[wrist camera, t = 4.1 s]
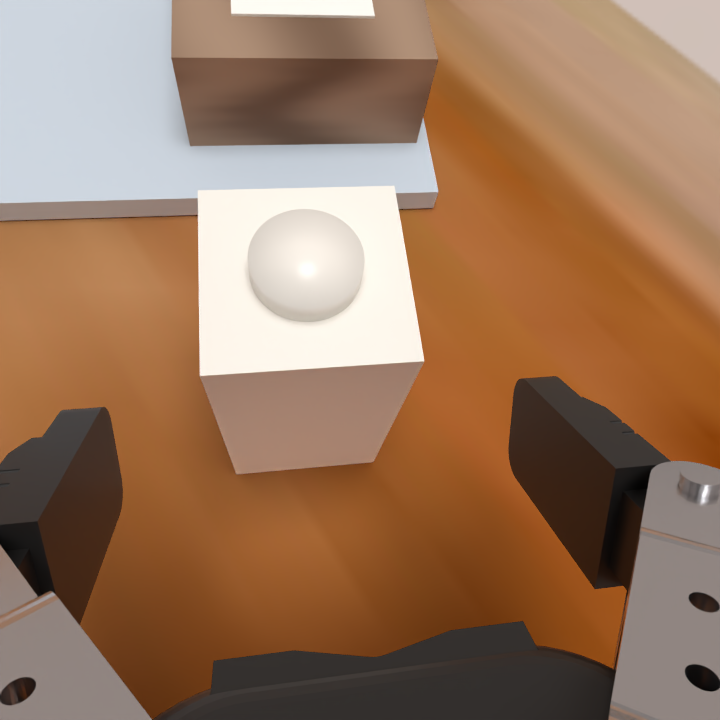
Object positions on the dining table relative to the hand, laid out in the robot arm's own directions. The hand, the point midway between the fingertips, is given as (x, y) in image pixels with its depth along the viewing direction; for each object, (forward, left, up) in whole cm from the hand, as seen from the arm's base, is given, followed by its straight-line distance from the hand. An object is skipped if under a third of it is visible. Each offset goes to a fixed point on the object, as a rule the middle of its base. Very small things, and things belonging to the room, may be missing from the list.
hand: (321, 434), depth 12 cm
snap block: (0, +3, -8) cm, 9 cm away
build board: (-5, +21, -8) cm, 23 cm away
